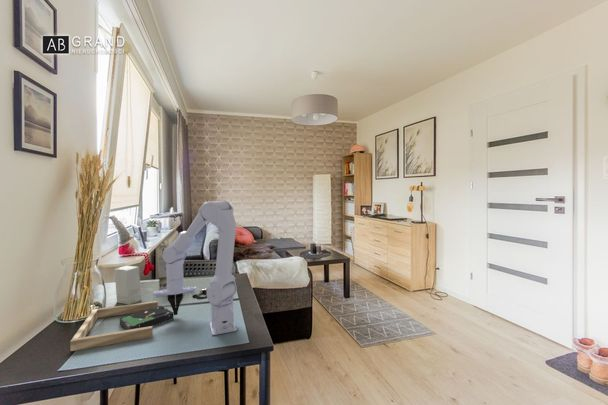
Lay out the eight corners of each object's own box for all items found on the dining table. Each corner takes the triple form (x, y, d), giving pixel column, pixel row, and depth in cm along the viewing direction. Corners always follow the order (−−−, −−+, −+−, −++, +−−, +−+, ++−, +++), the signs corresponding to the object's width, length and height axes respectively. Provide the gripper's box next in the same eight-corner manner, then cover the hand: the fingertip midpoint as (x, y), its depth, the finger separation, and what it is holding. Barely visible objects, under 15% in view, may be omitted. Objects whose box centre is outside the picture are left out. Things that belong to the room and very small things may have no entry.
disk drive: (161, 312, 114) (118, 325, 103) (161, 305, 114) (118, 317, 102) (174, 319, 108) (130, 334, 96) (174, 312, 107) (130, 326, 96)
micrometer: (202, 301, 125) (202, 295, 125) (190, 298, 129) (190, 293, 128) (225, 290, 139) (225, 285, 139) (214, 288, 142) (214, 283, 142)
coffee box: (174, 292, 135) (173, 258, 135) (158, 293, 133) (158, 259, 133) (176, 285, 144) (175, 254, 143) (162, 287, 142) (161, 254, 142)
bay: (152, 336, 94) (152, 327, 94) (70, 351, 86) (70, 341, 85) (157, 308, 117) (157, 300, 117) (93, 317, 108) (93, 309, 108)
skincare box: (141, 300, 125) (140, 266, 124) (128, 305, 119) (127, 270, 119) (128, 297, 128) (127, 264, 127) (114, 302, 123) (114, 267, 122)
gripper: (195, 273, 114) (195, 306, 115) (154, 277, 108) (154, 312, 109) (196, 278, 108) (196, 313, 108) (152, 282, 102) (153, 320, 102)
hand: (175, 314), depth 108 cm, fingers closed
